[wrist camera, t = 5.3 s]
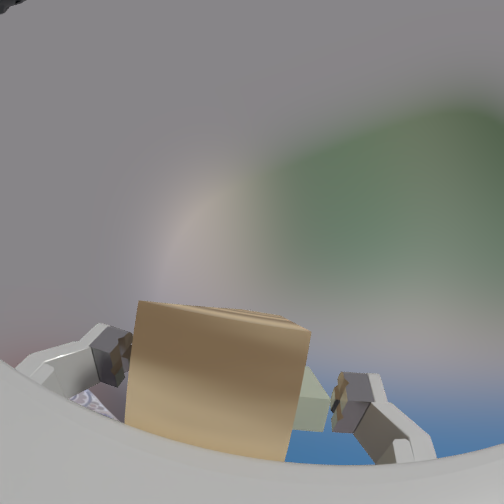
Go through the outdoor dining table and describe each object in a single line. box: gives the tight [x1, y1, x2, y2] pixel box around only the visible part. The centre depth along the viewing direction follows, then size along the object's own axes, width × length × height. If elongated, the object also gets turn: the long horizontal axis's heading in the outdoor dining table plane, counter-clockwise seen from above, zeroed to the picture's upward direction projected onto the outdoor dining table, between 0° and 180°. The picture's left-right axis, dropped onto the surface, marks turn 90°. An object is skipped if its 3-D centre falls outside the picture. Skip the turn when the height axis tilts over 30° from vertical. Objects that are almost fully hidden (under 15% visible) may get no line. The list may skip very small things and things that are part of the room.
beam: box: [125, 301, 311, 462], centre depth 18 cm, size 24×4×4 cm, turn 176°
